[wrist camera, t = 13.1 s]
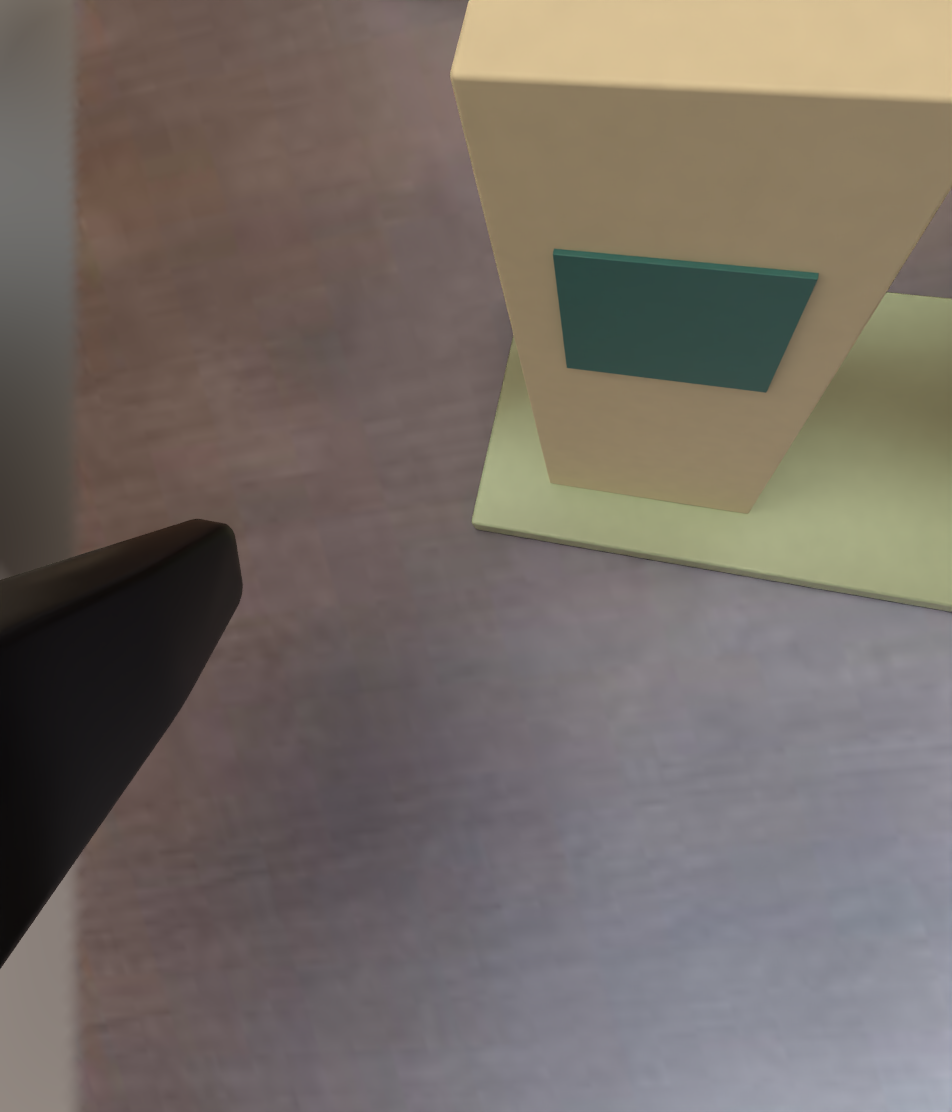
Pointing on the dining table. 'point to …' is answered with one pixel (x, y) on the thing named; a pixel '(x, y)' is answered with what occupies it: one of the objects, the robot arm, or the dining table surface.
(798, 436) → the block line
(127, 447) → the dining table surface
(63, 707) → the robot arm
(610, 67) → the tall cream block
